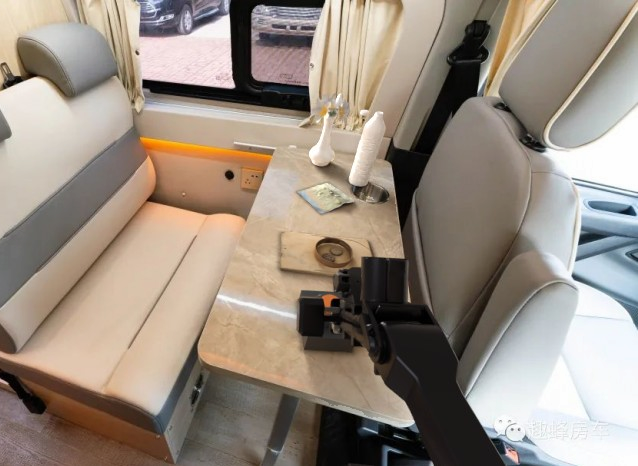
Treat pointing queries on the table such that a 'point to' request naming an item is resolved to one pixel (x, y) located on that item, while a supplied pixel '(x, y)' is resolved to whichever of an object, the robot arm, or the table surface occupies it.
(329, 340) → the jug base
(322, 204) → the topographic map
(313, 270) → the board
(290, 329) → the table surface
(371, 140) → the water bottle
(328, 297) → the lid button
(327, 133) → the flower vase
